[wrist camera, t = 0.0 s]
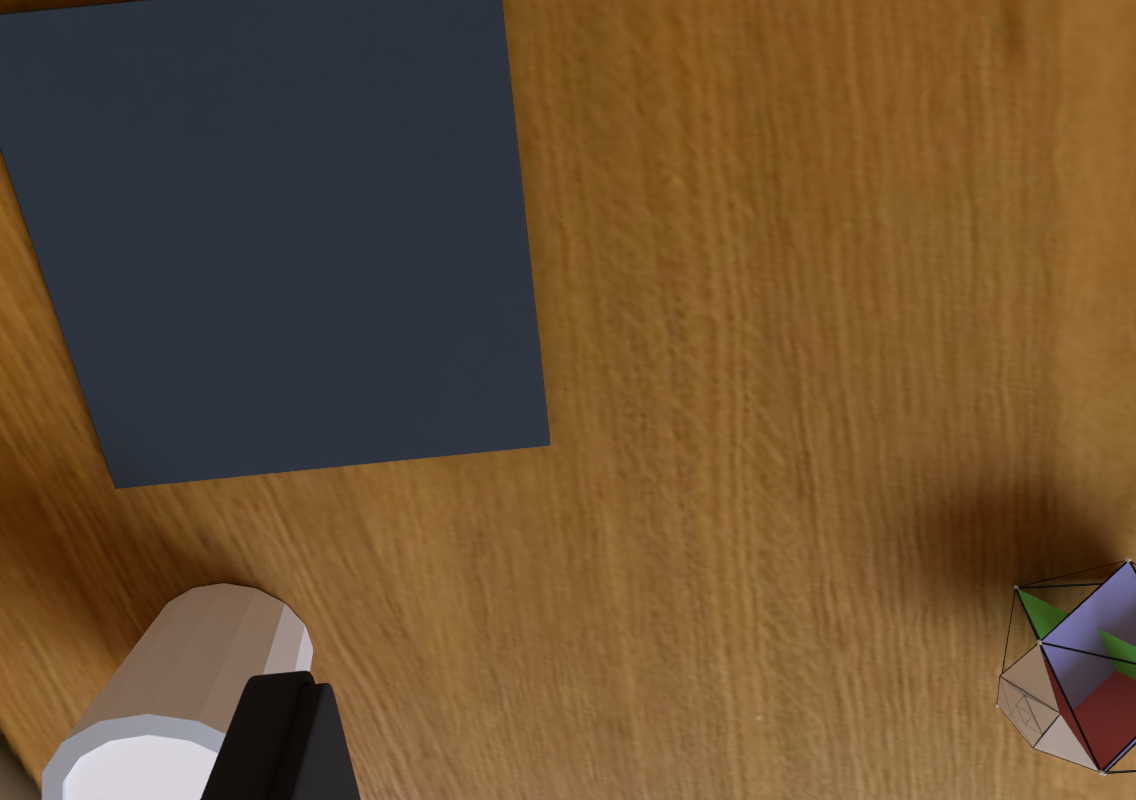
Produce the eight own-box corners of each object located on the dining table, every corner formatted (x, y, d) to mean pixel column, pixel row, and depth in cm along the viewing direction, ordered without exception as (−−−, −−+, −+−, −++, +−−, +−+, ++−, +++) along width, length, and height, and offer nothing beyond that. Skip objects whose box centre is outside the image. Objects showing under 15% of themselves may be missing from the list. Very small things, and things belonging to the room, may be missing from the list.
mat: (-36, 17, 24) (-45, 18, 24) (497, -35, 24) (497, -36, 24) (119, 483, 30) (114, 489, 30) (550, 440, 30) (550, 446, 30)
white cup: (94, 605, 32) (-14, 761, 26) (274, 542, 31) (210, 687, 25) (195, 744, 35) (121, 917, 28) (363, 690, 34) (326, 854, 28)
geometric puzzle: (1224, 505, 30) (1210, 712, 25) (1275, 649, 32) (1272, 864, 27) (993, 517, 35) (944, 691, 30) (1053, 641, 37) (1016, 821, 32)
